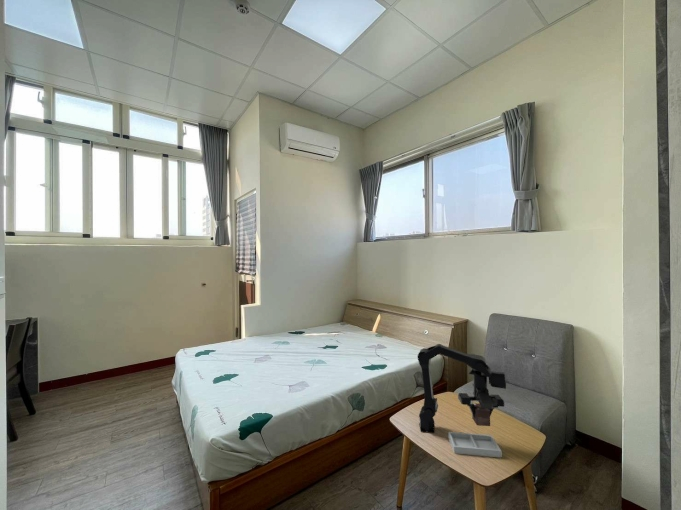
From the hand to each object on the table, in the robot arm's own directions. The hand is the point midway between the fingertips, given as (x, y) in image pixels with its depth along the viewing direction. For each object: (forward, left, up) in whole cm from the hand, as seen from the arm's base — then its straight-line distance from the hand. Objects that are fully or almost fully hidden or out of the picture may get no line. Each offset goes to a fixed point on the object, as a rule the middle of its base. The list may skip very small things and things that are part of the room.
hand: (481, 417), depth 126 cm
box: (0, 0, -2) cm, 2 cm away
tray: (-5, -3, -12) cm, 13 cm away
